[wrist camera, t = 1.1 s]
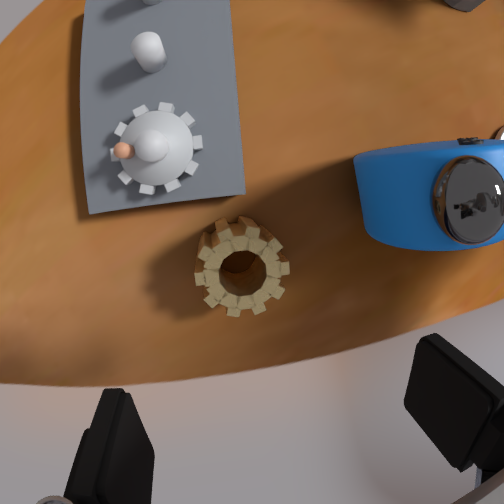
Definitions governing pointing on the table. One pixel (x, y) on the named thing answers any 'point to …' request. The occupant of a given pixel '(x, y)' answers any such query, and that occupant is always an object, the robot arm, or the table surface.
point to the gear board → (158, 103)
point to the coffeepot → (464, 4)
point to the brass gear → (248, 282)
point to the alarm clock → (434, 194)
